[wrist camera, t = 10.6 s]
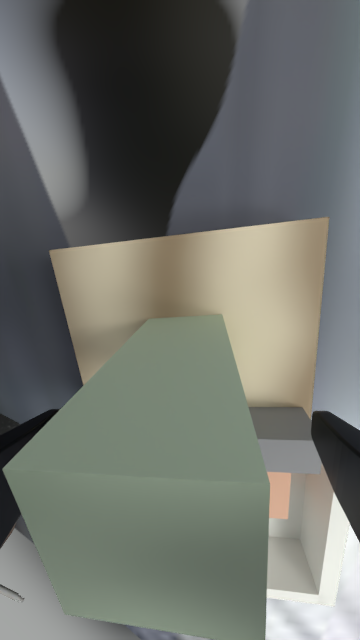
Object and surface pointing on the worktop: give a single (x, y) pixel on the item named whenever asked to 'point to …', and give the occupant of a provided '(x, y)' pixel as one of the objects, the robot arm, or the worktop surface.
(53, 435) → the green grey branched block
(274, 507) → the tile
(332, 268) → the worktop surface
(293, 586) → the tray
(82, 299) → the board
